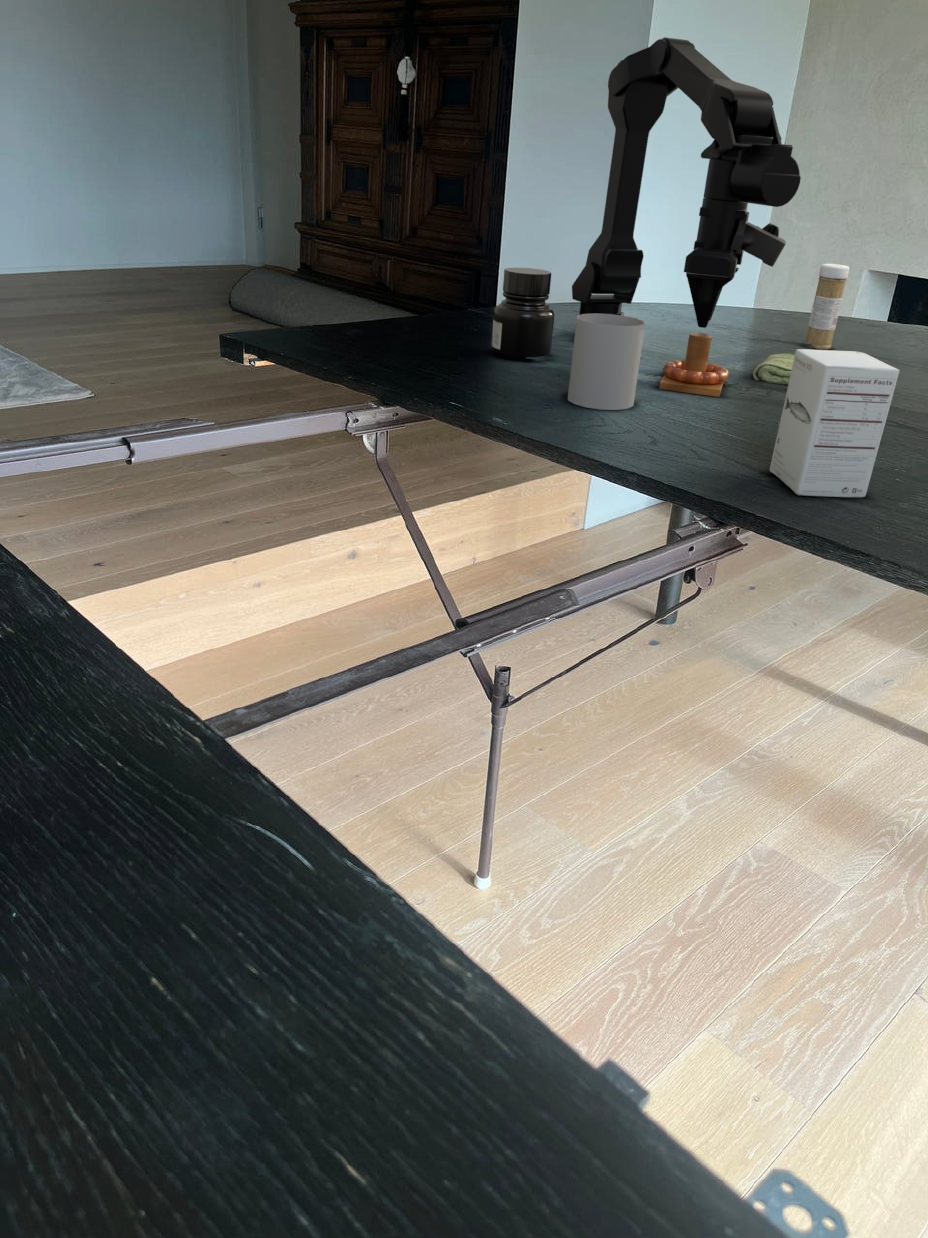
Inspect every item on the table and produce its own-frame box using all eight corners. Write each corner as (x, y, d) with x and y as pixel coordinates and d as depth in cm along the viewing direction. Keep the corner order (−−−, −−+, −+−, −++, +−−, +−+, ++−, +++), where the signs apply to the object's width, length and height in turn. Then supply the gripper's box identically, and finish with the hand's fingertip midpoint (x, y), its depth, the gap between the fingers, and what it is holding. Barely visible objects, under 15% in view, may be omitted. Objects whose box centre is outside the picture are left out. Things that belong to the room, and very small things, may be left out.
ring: (658, 380, 129) (660, 368, 129) (666, 367, 137) (668, 356, 136) (724, 388, 127) (727, 376, 126) (729, 375, 135) (731, 364, 134)
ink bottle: (506, 346, 148) (513, 264, 143) (559, 354, 145) (568, 271, 140) (480, 356, 141) (485, 270, 135) (535, 365, 137) (543, 277, 132)
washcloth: (881, 406, 128) (887, 382, 127) (748, 385, 134) (753, 361, 133) (888, 387, 139) (894, 365, 137) (765, 368, 145) (769, 347, 144)
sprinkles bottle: (812, 343, 167) (831, 262, 161) (836, 349, 164) (855, 266, 158) (797, 346, 164) (815, 263, 158) (821, 351, 161) (840, 267, 155)
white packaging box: (766, 471, 99) (793, 347, 93) (835, 474, 99) (866, 350, 94) (794, 496, 92) (825, 364, 86) (867, 498, 93) (903, 367, 87)
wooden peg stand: (659, 389, 129) (667, 335, 126) (666, 377, 136) (674, 326, 133) (719, 397, 127) (729, 343, 124) (723, 384, 134) (733, 333, 131)
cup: (638, 398, 123) (650, 318, 119) (627, 413, 116) (639, 329, 112) (575, 389, 126) (584, 310, 121) (560, 403, 119) (569, 320, 114)
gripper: (788, 208, 114) (762, 342, 121) (790, 201, 130) (767, 320, 137) (694, 200, 117) (673, 332, 124) (707, 195, 133) (688, 311, 140)
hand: (704, 323), depth 131 cm, fingers open, 6 cm apart
